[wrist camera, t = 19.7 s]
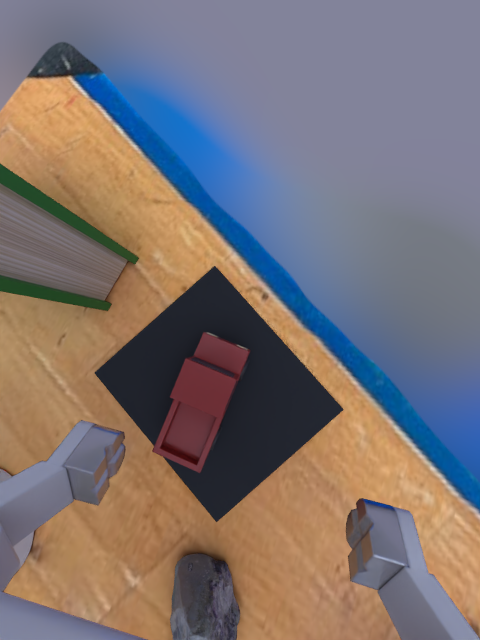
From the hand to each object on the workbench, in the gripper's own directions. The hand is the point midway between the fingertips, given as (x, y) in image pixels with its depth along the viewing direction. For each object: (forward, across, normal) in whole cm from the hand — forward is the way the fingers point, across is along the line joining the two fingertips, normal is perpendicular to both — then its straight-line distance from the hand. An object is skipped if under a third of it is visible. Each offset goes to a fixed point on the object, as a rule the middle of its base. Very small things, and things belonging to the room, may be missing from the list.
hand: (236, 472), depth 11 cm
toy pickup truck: (+19, +4, +17) cm, 26 cm away
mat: (+20, +4, +17) cm, 26 cm away
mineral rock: (+6, 0, +36) cm, 37 cm away
